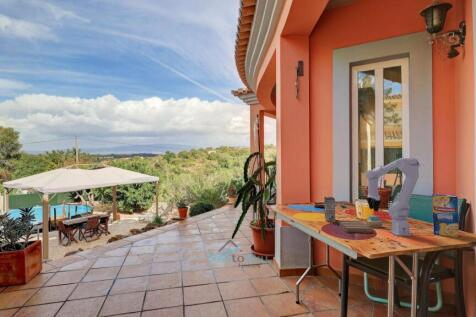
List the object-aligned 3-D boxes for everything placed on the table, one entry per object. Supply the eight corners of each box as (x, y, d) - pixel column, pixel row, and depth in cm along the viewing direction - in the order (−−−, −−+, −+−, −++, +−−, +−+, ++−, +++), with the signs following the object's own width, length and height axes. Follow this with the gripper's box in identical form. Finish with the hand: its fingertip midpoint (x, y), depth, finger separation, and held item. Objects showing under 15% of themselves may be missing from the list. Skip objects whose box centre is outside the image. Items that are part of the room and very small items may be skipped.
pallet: (382, 227, 160) (382, 221, 160) (368, 227, 162) (368, 220, 162) (379, 225, 165) (378, 219, 165) (366, 225, 167) (365, 219, 167)
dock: (371, 232, 149) (371, 228, 149) (346, 232, 151) (346, 228, 151) (360, 224, 168) (360, 220, 168) (338, 224, 170) (338, 220, 170)
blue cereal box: (458, 237, 137) (457, 196, 137) (433, 234, 144) (432, 195, 144) (457, 234, 143) (456, 195, 143) (432, 231, 149) (431, 194, 149)
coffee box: (324, 218, 188) (324, 196, 188) (333, 218, 186) (333, 196, 187) (326, 221, 179) (325, 198, 179) (335, 221, 178) (335, 198, 178)
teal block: (379, 220, 161) (379, 216, 161) (370, 220, 162) (370, 216, 162) (376, 219, 165) (376, 215, 165) (368, 219, 166) (368, 215, 166)
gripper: (384, 190, 156) (385, 212, 156) (375, 187, 171) (375, 207, 170) (372, 190, 157) (372, 212, 157) (364, 187, 172) (364, 207, 171)
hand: (373, 209), depth 164 cm, fingers open, 7 cm apart
